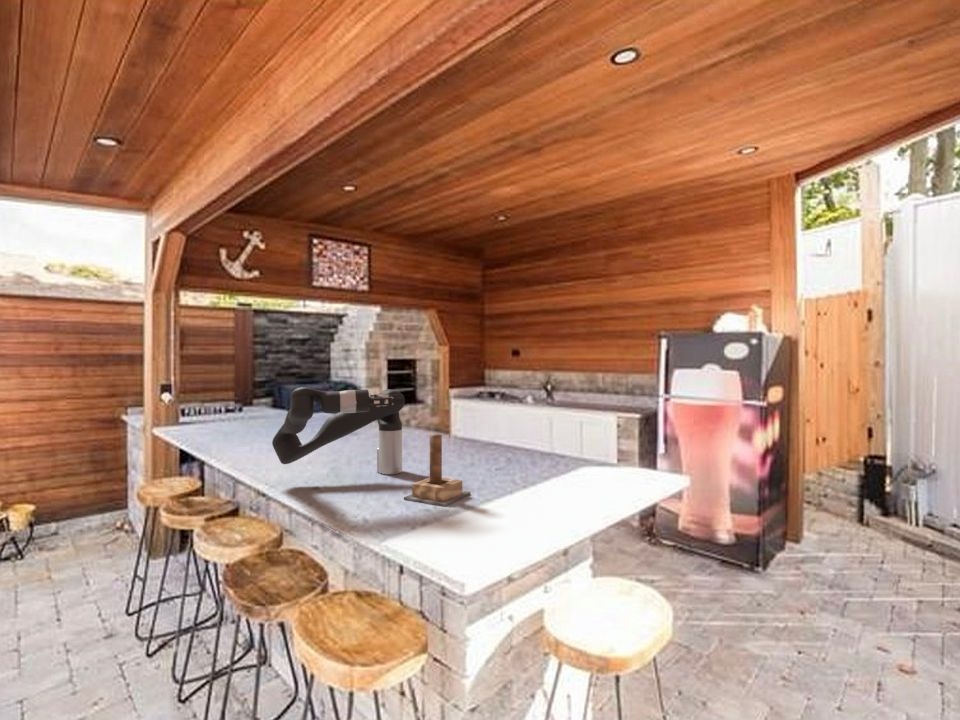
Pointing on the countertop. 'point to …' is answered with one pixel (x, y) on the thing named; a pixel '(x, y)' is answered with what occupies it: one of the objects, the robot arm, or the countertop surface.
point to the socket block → (437, 492)
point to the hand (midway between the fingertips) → (402, 398)
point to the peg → (436, 459)
